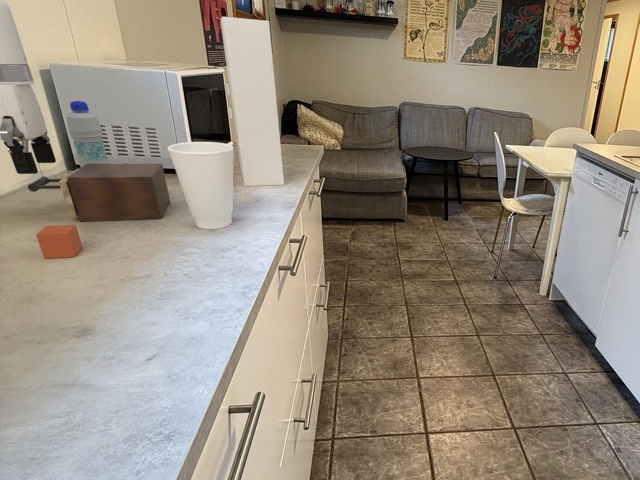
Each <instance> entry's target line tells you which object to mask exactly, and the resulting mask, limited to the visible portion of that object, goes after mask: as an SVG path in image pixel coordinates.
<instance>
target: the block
mask: <svg viewBox="0 0 640 480" xmlns="http://www.w3.org/2000/svg"><path fill="white" fill-rule="evenodd" d="M35 237H36V240H37V243H38V245H39V248H40V250H41V253H42V256H43V259H61V258H75V257H76V256H77V255H78V254H79V253H80V252H81V250H82V249H84V246H83V244H82V240H81V238H80V233H79V231H78V227H77V225H76V224H62V225H60V224H59V225H45V226H44V227H42V228H41V229H40V230H39V231H38V232H37V233H36V234H35Z"/></svg>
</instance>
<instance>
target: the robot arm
mask: <svg viewBox="0 0 640 480" xmlns="http://www.w3.org/2000/svg"><path fill="white" fill-rule="evenodd" d="M32 84H33V85H34V84H35V81H34V77H33V75H32V72H31V68H30V65H29V62H28V60H27V56H26V53H25V50H24V46H23V44H22V40H21V37H20V35H19V32H18V28H17V25H16V22H15V20H14V15H13V13H12V10H11V8H10V6H9V4H8V3H6V1H4V0H0V140H1V141H3V144H4V146H5V147H6V149H7V153H9V155H10V158H11V161H12V163H13V166H14V168H15V171H16V174H18V175H37V174H38V173H39V170H38V167H37V164H36V162H37V163H38V164H55V163H56V162H57V159H56V155H55V153H54V150H53V147H52V144H51V139H50V137H49V135H48V129H47V125H46V121H45V118H44V114H43V112H42V109H41V107H40V103H39V101H38V99H37V97H36V96H37V95H36V94H35V91H34V89H33V87H32ZM29 141H31V143H30V146H31V149H32V151H33V153H32V151H30V150H29Z"/></svg>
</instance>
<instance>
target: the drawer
mask: <svg viewBox="0 0 640 480" xmlns="http://www.w3.org/2000/svg"><path fill="white" fill-rule="evenodd" d="M78 169H79V168H76V169H75V170H74V171H72V172H71V173H69V174H68V175H65V176H64V177H63V178H49V177H48V176H46V175H43V176H40V177H39V178H37V179H36V180H34V181H32V182H31V183H29V184H28V185H27V190H28V191H30V192H32V193H34V192H38V191H39V190H60V189H61V192H62V195H63V199H64V203H65V206H66V208H67V211H68V215H69V217H70V218H77V217H79V215H78V212H77V209H76V205H75V202H74V199H73V195H72V192H71V189H70V186H69V182H68V179H67V177H68V176H70V175H71V174H73V173H74V172H76V171H77V170H78ZM49 183H59V184H49Z"/></svg>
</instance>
